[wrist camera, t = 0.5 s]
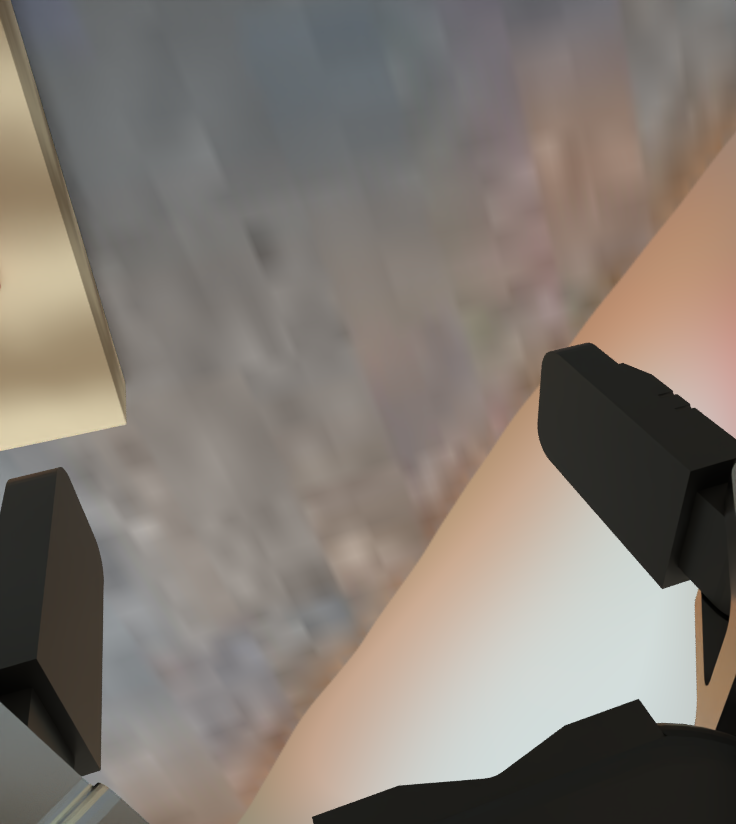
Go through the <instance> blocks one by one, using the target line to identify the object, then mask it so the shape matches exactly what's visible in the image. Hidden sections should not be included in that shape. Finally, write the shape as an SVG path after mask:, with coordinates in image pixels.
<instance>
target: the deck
mask: <svg viewBox="0 0 736 824" xmlns="http://www.w3.org/2000/svg"><path fill="white" fill-rule="evenodd" d="M0 284H1V289H0V451H3V450H7V449H12V448H17V447H22V446H26V445H31V444H36V443H41V442H45V441H50V440H55V439H60V438H64V437H69V436H74V435H78V434H83V433H88V432H93V431H97V430H102V429H107V428H112V427H116V426H121V425H126V388H125V380H124V377H123V374H122V370H121V367H120V364H119V360H118V357H117V354H116V350H115V347H114V344H113V340H112V337H111V334H110V330H109V327H108V324H107V320H106V317H105V314H104V310H103V307H102V304H101V300H100V297H99V294H98V290H97V287H96V284H95V280H94V277H93V274H92V270H91V267H90V264H89V260H88V257H87V254H86V250H85V247H84V244H83V240H82V237H81V234H80V230H79V227H78V224H77V220H76V217H75V214H74V210H73V207H72V204H71V200H70V197H69V194H68V190H67V187H66V184H65V180H64V177H63V174H62V170H61V167H60V164H59V160H58V157H57V153H56V150H55V147H54V143H53V140H52V137H51V133H50V130H49V127H48V123H47V120H46V117H45V113H44V110H43V107H42V103H41V100H40V97H39V93H38V90H37V87H36V83H35V80H34V77H33V73H32V70H31V67H30V63H29V60H28V57H27V53H26V50H25V47H24V43H23V40H22V37H21V33H20V30H19V27H18V23H17V20H16V17H15V13H14V10H13V7H12V3H11V0H0Z"/></svg>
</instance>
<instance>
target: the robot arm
mask: <svg viewBox="0 0 736 824" xmlns="http://www.w3.org/2000/svg"><path fill="white" fill-rule="evenodd" d="M538 435H539V440H540V443H541V446H542V448H543V451H544V452H545V454H546V456H547V457H548V459H549V460H550V461H551V462H552V463H553V465H554V466H555V467H556V468H557V469H558V470H559V471H560V472H561V474H562V475H563V476H564V477H565V478H566V480H567V481H568V482H569V483H570V484H571V485H572V486H573V488H574V489H575V490H576V491H577V492H578V493H579V494H580V496H581V497H582V498H583V499H584V500H585V501H586V502H587V504H588V505H589V506H590V507H591V508H592V509H593V510H594V512H595V513H596V514H597V515H598V516H599V517H600V518H601V520H602V521H603V522H604V523H605V524H606V525H607V526H608V527H609V529H610V530H611V531H612V532H613V533H614V534H615V536H617V538H618V539H619V540H620V541H621V542H622V544H623V545H624V546H625V547H626V548H627V549H628V550H629V552H630V553H631V554H632V555H633V556H634V557H635V558H636V560H637V561H638V562H639V563H640V564H641V565H642V566H643V568H644V569H645V570H646V571H647V572H648V573H649V574H650V576H651V577H652V578H653V579H654V580H655V581H656V582H657V584H658V585H659V586H660V587H661V588H662V589H664V588H667V587H670V586H673V585H676V584H679V583H682V582H685V581H688V580H691V581H692V582H693V583H694V584H695V585H696V586H697V587H698V592H697V596H696V599H695V638H696V677H697V678H696V680H697V710H696V719H695V725H694V726H693V725H687V724H673V723H656V722H655V721H654V720H653V718H652V717H651V716H650V714H649V713H648V711H647V710H646V708H645V707H644V706H643V704H642V703H641V701H640V700H639V699H637V700H635V701H632V702H629V703H626V704H623V705H621V706H618V707H615V708H612V709H610V710H607V711H604V712H601V713H599V714H596V715H593V716H590V717H587V718H585V719H582V720H579V721H576V722H573V723H571V724H568V725H565V726H564V727H562V728H561V729H559V730H558V731H557V732H555V733H554V734H553V735H551V736H550V737H549V738H547V739H546V740H545V741H544V742H542V743H541V744H539V745H538V746H537V747H535V748H534V749H533V750H531V751H530V752H529V753H528V754H526V755H525V756H523V757H522V758H521V759H519V760H518V761H517V762H515V763H514V764H512V765H511V766H510V767H508V768H507V769H506V770H504V771H503V772H502V773H500V774H498V775H496V776H494V777H491V778H485V779H476V780H462V781H450V782H439V783H425V784H414V785H402V786H396V787H394V788H391V789H388V790H385V791H383V792H380V793H377V794H374V795H372V796H369V797H366V798H364V799H360V800H358V801H355V802H352V803H349V804H347V805H344V806H341V807H338V808H336V809H333V810H330V811H327V812H325V813H322V814H319V815H316V816H313V817H312V819H313V823H314V824H736V439H735V438H734V437H732V436H731V435H730V434H728V433H727V432H726V431H724V430H723V429H722V428H720V427H719V426H718V425H717V424H715V423H714V422H713V421H711V420H710V419H709V418H708V417H706V416H705V415H703V414H702V413H701V412H700V411H698V410H697V409H696V408H691V407H690V404H689V403H688V402H687V401H685V400H684V399H683V398H682V397H680V396H679V395H677V394H676V395H674V394H673V391H672V390H671V389H670V388H669V387H667V386H666V385H665V384H663V383H662V382H661V381H659V380H658V379H657V378H656V377H654V376H653V375H652V374H649V373H646V372H644V371H642V370H639V369H637V368H634V367H632V366H629V365H627V364H624V363H621V364H618V363H617V362H615V361H614V360H613V359H611V358H610V357H609V356H608V355H607V354H605V353H604V352H602V351H601V350H600V349H599V348H598V347H597V346H595V345H594V344H592V343H584V344H580V345H576V346H571V347H567V348H563V349H559V350H555V351H550V352H548V353H546V355H545V356H544V358H543V361H542V369H541V383H540V397H539V411H538ZM103 586H104V576H103V567H102V561H101V556H100V552H99V548H98V545H97V542H96V539H95V537H94V534H93V532H92V530H91V527H90V525H89V523H88V520H87V518H86V516H85V513H84V511H83V509H82V506H81V504H80V502H79V499H78V497H77V495H76V492H75V490H74V488H73V485H72V483H71V481H70V478H69V476H68V474H67V473H66V471H65V470H64V469H63V468H62V467H59V468H55V469H51V470H46V471H42V472H38V473H34V474H30V475H25V476H21V477H17V478H13V479H9V480H8V482H7V484H6V487H5V492H4V497H3V502H2V507H1V512H0V824H149V823H148V822H147V821H146V820H145V819H144V818H142V817H141V816H140V815H139V814H138V813H137V812H136V811H135V810H134V809H132V808H131V807H130V806H129V805H128V804H127V803H126V802H125V801H124V800H122V799H121V798H120V797H119V796H118V795H117V794H116V793H114V792H113V791H112V790H111V789H109V788H108V787H106V786H105V785H103V784H101V783H97V784H96V785H95V786H92V785H91V784H89V783H88V782H87V781H86V780H85V779H83V778H82V777H81V776H84V775H87V774H90V773H94V772H97V771H100V770H101V715H102V651H103Z"/></svg>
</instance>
